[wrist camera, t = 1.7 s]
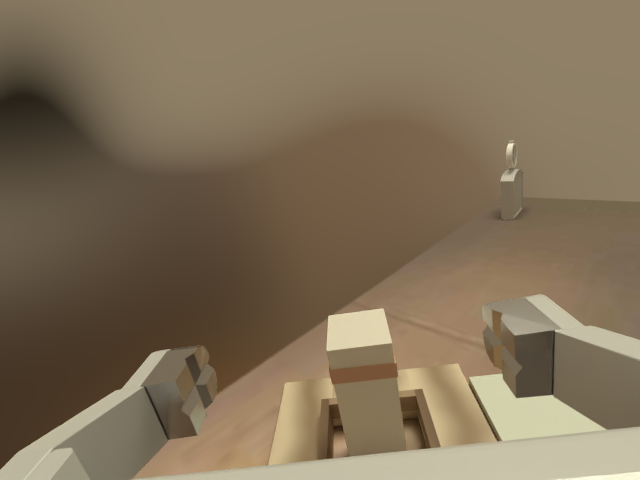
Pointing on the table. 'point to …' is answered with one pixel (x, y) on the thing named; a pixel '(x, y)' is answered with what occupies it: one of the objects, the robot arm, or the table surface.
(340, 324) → the banded cream pillar
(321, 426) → the wooden square socket board
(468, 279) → the table surface
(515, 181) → the grey block with loop
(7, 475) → the robot arm
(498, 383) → the pad
